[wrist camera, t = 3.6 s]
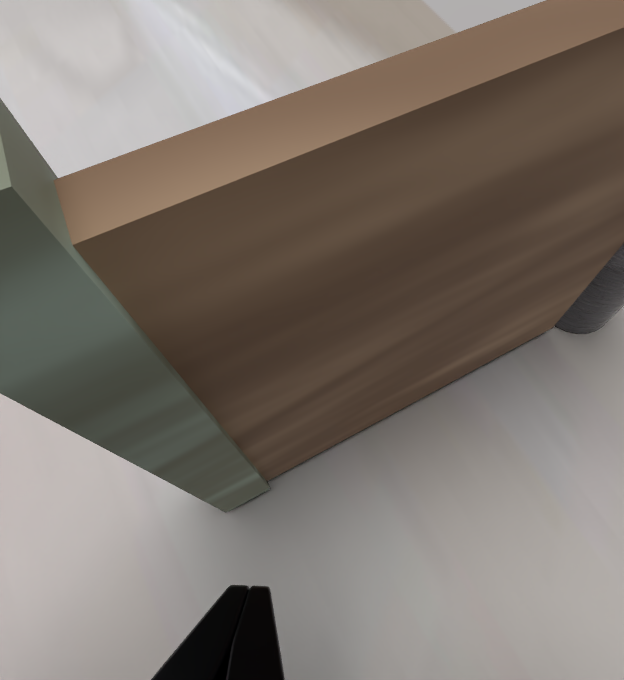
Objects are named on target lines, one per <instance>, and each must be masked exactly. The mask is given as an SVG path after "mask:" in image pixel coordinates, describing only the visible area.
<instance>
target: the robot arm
mask: <svg viewBox="0 0 624 680" xmlns="http://www.w3.org/2000/svg"><path fill="white" fill-rule="evenodd" d="M151 680H285V678H284V672H283V665H282V659H281V653H280V647H279V641H278V635H277V628H276V622H275V616H274V610H273V604H272V598H271V592H270V588H269V587H267V586H252V587H251V588H249V587H248V586H245V585H231V586H229V587H228V588H227V589H226V590H225V592H224V593H223V594H222V595H221V596H220V598H219V599H218V600H217V601H216V602H215V604H214V605H213V606H212V607H211V608H210V610H209V611H208V612H207V613H206V614H205V616H204V617H203V618H202V619H201V620H200V622H199V623H198V624H197V625H196V626H195V628H194V629H193V630H192V631H191V632H190V634H189V635H188V636H187V637H186V638H185V639H184V641H183V642H182V643H181V644H180V645H179V647H178V648H177V649H176V650H175V651H174V653H173V654H172V655H171V656H170V657H169V659H168V660H167V661H166V662H165V663H164V665H163V666H162V667H161V668H160V669H159V671H158V672H157V673H156V674H155V675H154V677H153V678H152V679H151Z"/></svg>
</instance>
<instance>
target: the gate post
mask: <svg viewBox="0 0 624 680" xmlns="http://www.w3.org/2000/svg"><path fill="white" fill-rule="evenodd" d="M623 306H624V243H623V244H622V246H621V247H620V248H619V249H618V250H617V251H616V253H615V254H614V255H613V256H612V257H611V259H610V260H609V261H608V262H607V263H606V265H605V266H604V267H603V268H602V269H601V271H600V272H599V273H598V274H597V275H596V277H595V278H594V279H593V280H592V281H591V282H590V284H589V285H588V286H587V287H586V288H585V290H584V291H583V292H582V293H581V294H580V296H579V297H578V298H577V299H576V300H575V302H574V303H573V304H572V305H571V306H570V307H569V309H568V310H567V311H566V312H565V313H564V315H563V316H562V317H561V318H560V319H559V321H558V322H557V323H556V324H555V326H556V327H558V328H560V329H562V330H565V331H568V332H572V333H581V334H582V333H590V332H594V331H596V330H598V329H600V328H601V327H602V326H603V325H604V324H605V323H606V322H607V321H608V320H609V319H610V318H611V317H612V316H614V315H615V314H616V313H617V312H618V311H619V310H620V309H621V308H622V307H623Z"/></svg>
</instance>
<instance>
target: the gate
mask: <svg viewBox="0 0 624 680" xmlns="http://www.w3.org/2000/svg"><path fill="white" fill-rule="evenodd" d="M623 243H624V0H546V1H543V2H540V3H538V4H535V5H532V6H529V7H527V8H524V9H521V10H518V11H516V12H513V13H510V14H507V15H505V16H502V17H499V18H497V19H494V20H491V21H488V22H486V23H483V24H480V25H478V26H475V27H472V28H470V29H466V30H464V31H461V32H458V33H455V34H453V35H450V36H447V37H444V38H442V39H439V40H436V41H434V42H431V43H428V44H425V45H423V46H420V47H417V48H414V49H412V50H409V51H406V52H403V53H401V54H398V55H395V56H392V57H390V58H387V59H384V60H381V61H379V62H376V63H373V64H371V65H368V66H365V67H362V68H360V69H357V70H354V71H351V72H349V73H346V74H343V75H340V76H338V77H335V78H332V79H329V80H327V81H324V82H321V83H318V84H316V85H313V86H310V87H308V88H305V89H302V90H299V91H297V92H294V93H291V94H288V95H286V96H283V97H280V98H277V99H275V100H272V101H269V102H266V103H264V104H261V105H258V106H255V107H253V108H250V109H247V110H245V111H242V112H239V113H236V114H234V115H231V116H228V117H225V118H223V119H220V120H217V121H214V122H212V123H209V124H206V125H203V126H201V127H198V128H195V129H192V130H190V131H187V132H184V133H182V134H179V135H176V136H173V137H171V138H168V139H165V140H162V141H160V142H157V143H154V144H151V145H149V146H146V147H143V148H140V149H138V150H135V151H132V152H129V153H127V154H124V155H121V156H118V157H116V158H113V159H110V160H108V161H105V162H102V163H99V164H97V165H94V166H91V167H88V168H86V169H83V170H80V171H77V172H75V173H72V174H69V175H66V176H64V177H61V178H57V176H56V175H55V173H54V172H53V171H52V169H51V168H50V166H49V165H48V164H47V162H46V161H45V160H44V158H43V157H42V155H41V154H40V153H39V151H38V150H37V148H36V147H35V146H34V144H33V143H32V141H31V140H30V139H29V137H28V136H27V135H26V133H25V132H24V130H23V129H22V128H21V126H20V125H19V123H18V122H17V121H16V119H15V118H14V117H13V115H12V114H11V112H10V111H9V110H8V108H7V107H6V105H5V104H4V103H3V101H2V100H1V99H0V393H1V394H3V395H5V396H7V397H8V398H10V399H12V400H14V401H16V402H18V403H20V404H22V405H24V406H25V407H27V408H29V409H31V410H33V411H35V412H37V413H39V414H41V415H42V416H44V417H46V418H48V419H50V420H52V421H54V422H56V423H58V424H59V425H61V426H63V427H65V428H67V429H69V430H71V431H73V432H75V433H76V434H78V435H80V436H82V437H84V438H86V439H88V440H90V441H92V442H93V443H95V444H97V445H99V446H101V447H103V448H105V449H107V450H109V451H110V452H112V453H114V454H116V455H118V456H120V457H122V458H124V459H126V460H127V461H129V462H131V463H133V464H135V465H137V466H139V467H141V468H143V469H144V470H146V471H148V472H150V473H152V474H154V475H156V476H158V477H160V478H161V479H163V480H165V481H167V482H169V483H171V484H173V485H175V486H177V487H178V488H180V489H182V490H184V491H186V492H188V493H190V494H192V495H194V496H195V497H197V498H199V499H201V500H203V501H205V502H207V503H209V504H211V505H212V506H214V507H216V508H218V509H220V510H222V511H224V512H228V511H230V510H232V509H234V508H236V507H237V506H239V505H241V504H243V503H245V502H247V501H249V500H250V499H252V498H254V497H256V496H258V495H260V494H261V493H263V492H265V491H267V490H269V489H270V487H269V485H268V482H267V481H269V480H271V479H272V478H274V477H276V476H278V475H280V474H282V473H284V472H285V471H287V470H289V469H291V468H293V467H295V466H297V465H298V464H300V463H302V462H304V461H306V460H308V459H310V458H311V457H313V456H315V455H317V454H319V453H321V452H323V451H324V450H326V449H328V448H330V447H332V446H334V445H336V444H337V443H339V442H341V441H343V440H345V439H347V438H349V437H350V436H352V435H354V434H356V433H358V432H360V431H362V430H363V429H365V428H367V427H369V426H371V425H373V424H375V423H377V422H378V421H380V420H382V419H384V418H386V417H388V416H390V415H391V414H393V413H395V412H397V411H399V410H401V409H403V408H404V407H406V406H408V405H410V404H412V403H414V402H416V401H417V400H419V399H421V398H423V397H425V396H427V395H429V394H430V393H432V392H434V391H436V390H438V389H440V388H442V387H443V386H445V385H447V384H449V383H451V382H453V381H455V380H456V379H458V378H460V377H462V376H464V375H466V374H468V373H469V372H471V371H473V370H475V369H477V368H479V367H481V366H482V365H484V364H486V363H488V362H490V361H492V360H494V359H495V358H497V357H499V356H501V355H503V354H505V353H507V352H508V351H510V350H512V349H514V348H516V347H518V346H520V345H522V344H523V343H525V342H527V341H529V340H531V339H533V338H535V337H536V336H538V335H540V334H542V333H544V332H546V331H548V330H549V329H551V328H553V327H554V325H555V324H556V323H557V322H558V321H559V319H560V318H561V317H562V316H563V315H564V313H565V312H566V311H567V310H568V309H569V307H570V306H571V305H572V304H573V303H574V302H575V300H576V299H577V298H578V297H579V296H580V294H581V293H582V292H583V291H584V290H585V288H586V287H587V286H588V285H589V284H590V282H591V281H592V280H593V279H594V278H595V277H596V275H597V274H598V273H599V272H600V271H601V269H602V268H603V267H604V266H605V265H606V263H607V262H608V261H609V260H610V259H611V257H612V256H613V255H614V254H615V253H616V251H617V250H618V249H619V248H620V247H621V246H622V244H623Z"/></svg>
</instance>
